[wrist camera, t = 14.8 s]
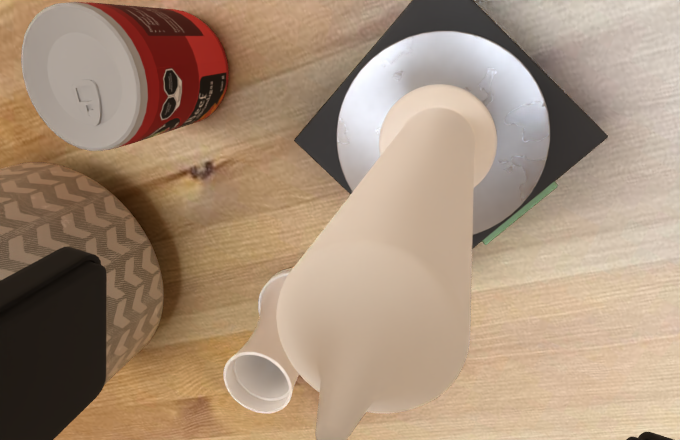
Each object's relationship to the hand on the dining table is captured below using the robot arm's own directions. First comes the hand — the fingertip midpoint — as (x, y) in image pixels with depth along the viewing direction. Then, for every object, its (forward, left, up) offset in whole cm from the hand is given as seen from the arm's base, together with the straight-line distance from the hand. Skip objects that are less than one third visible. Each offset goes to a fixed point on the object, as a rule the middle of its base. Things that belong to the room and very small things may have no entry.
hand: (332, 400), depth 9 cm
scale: (0, 0, -28) cm, 28 cm away
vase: (+17, -7, -28) cm, 34 cm away
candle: (0, 0, -25) cm, 25 cm away
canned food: (0, -19, -28) cm, 34 cm away
